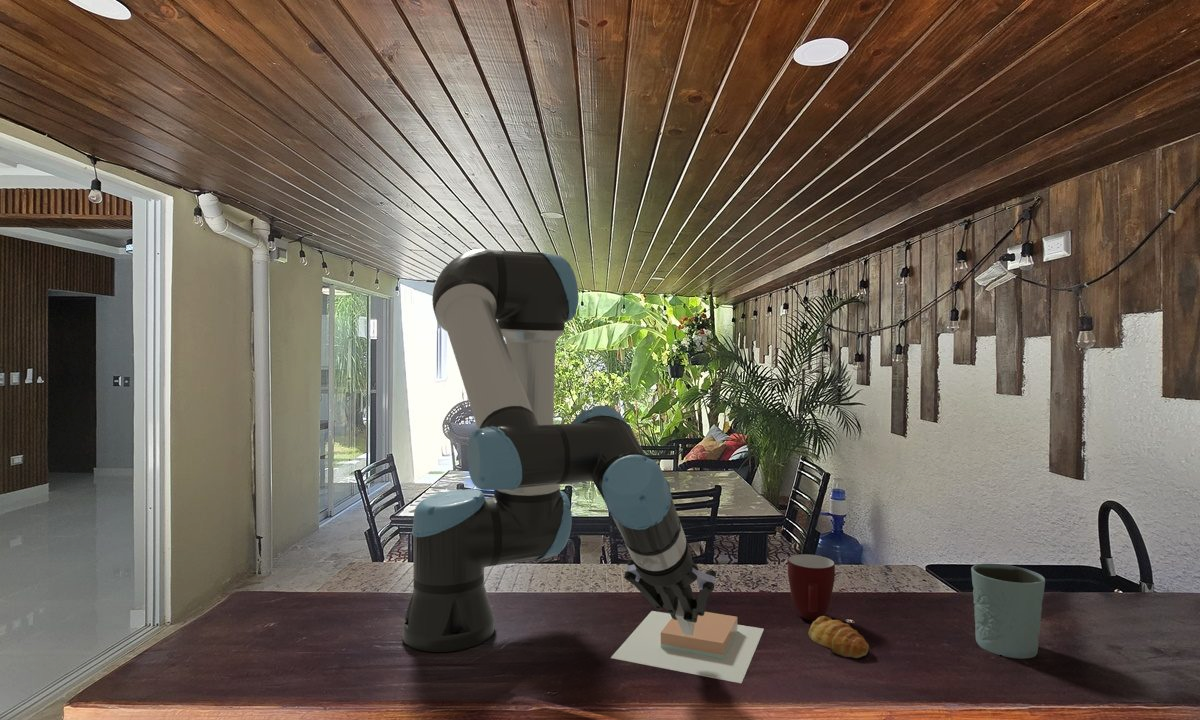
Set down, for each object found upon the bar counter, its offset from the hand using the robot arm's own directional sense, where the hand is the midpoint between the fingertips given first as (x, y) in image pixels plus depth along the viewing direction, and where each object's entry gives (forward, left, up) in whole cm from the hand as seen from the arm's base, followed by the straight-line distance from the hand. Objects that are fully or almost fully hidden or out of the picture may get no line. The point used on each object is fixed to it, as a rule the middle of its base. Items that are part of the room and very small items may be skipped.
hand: (689, 626), depth 102 cm
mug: (+16, +24, -6) cm, 30 cm away
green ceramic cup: (+46, +25, -6) cm, 53 cm away
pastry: (+21, +15, -6) cm, 26 cm away
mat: (-1, +5, -6) cm, 8 cm away
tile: (0, +2, -4) cm, 4 cm away
